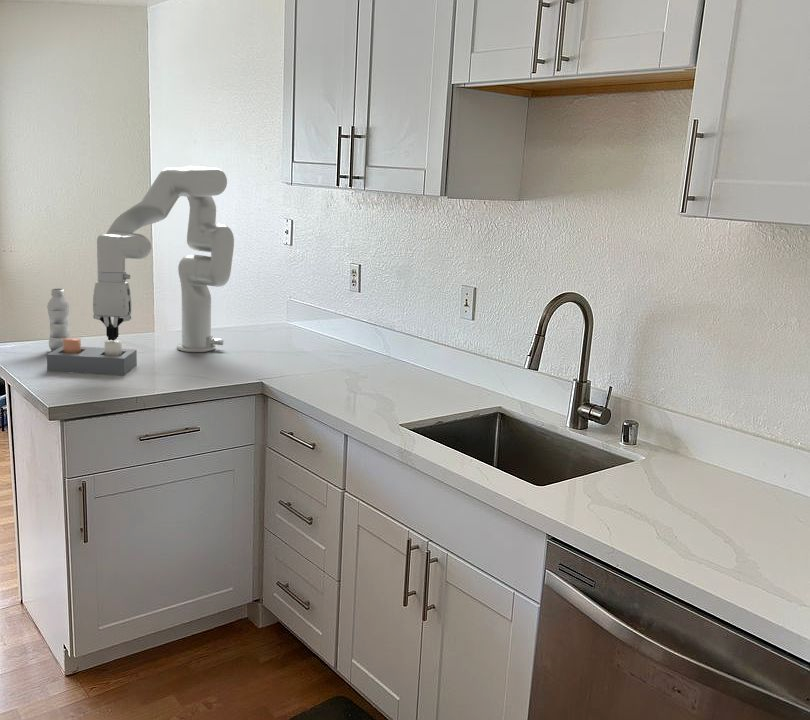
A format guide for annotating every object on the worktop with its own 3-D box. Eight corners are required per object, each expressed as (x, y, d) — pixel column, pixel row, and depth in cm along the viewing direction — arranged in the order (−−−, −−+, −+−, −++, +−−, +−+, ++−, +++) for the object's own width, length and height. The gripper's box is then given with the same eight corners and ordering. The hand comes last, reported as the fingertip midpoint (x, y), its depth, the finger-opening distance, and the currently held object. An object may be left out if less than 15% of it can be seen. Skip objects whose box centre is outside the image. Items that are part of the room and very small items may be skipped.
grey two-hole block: (136, 365, 241) (136, 349, 240) (124, 375, 229) (124, 358, 228) (63, 361, 240) (62, 345, 239) (47, 371, 228) (46, 354, 227)
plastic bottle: (75, 350, 255) (73, 288, 251) (64, 354, 249) (61, 291, 244) (56, 348, 256) (53, 287, 251) (44, 352, 249) (42, 290, 245)
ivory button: (124, 356, 237) (123, 340, 235) (119, 360, 232) (118, 343, 231) (107, 355, 236) (107, 339, 235) (102, 359, 232) (102, 342, 231)
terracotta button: (83, 354, 236) (83, 338, 235) (77, 358, 231) (77, 341, 230) (67, 353, 236) (66, 337, 235) (60, 357, 231) (60, 340, 230)
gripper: (141, 277, 233) (142, 338, 237) (89, 274, 232) (91, 335, 236) (133, 280, 225) (134, 343, 229) (80, 277, 225) (82, 340, 229)
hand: (112, 339), depth 233 cm, fingers closed
